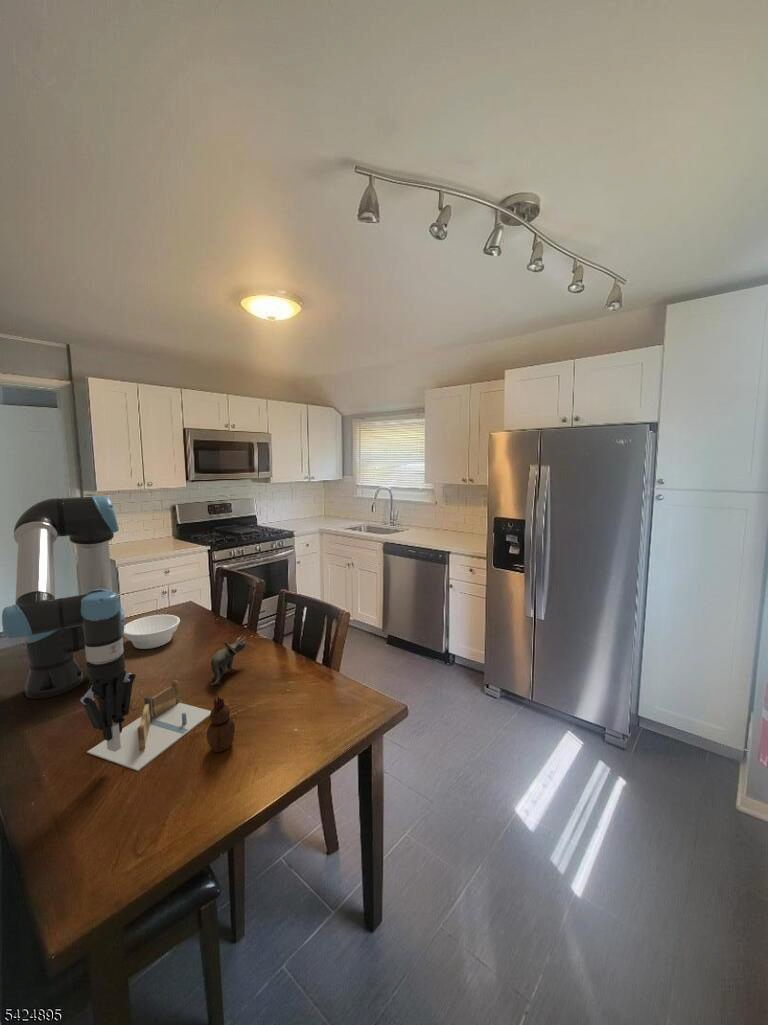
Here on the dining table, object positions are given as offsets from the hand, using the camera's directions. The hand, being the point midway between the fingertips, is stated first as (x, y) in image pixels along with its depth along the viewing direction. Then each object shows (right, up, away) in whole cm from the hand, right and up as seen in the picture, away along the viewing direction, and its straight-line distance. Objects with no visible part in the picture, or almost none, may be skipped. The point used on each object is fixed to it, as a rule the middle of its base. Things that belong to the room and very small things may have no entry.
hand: (114, 748), depth 103 cm
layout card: (+3, -3, +14) cm, 14 cm away
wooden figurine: (+24, -4, +7) cm, 25 cm away
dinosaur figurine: (+10, +1, +42) cm, 43 cm away
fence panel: (+2, -2, +10) cm, 11 cm away
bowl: (-29, +4, +69) cm, 75 cm away
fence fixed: (0, -2, +22) cm, 22 cm away
